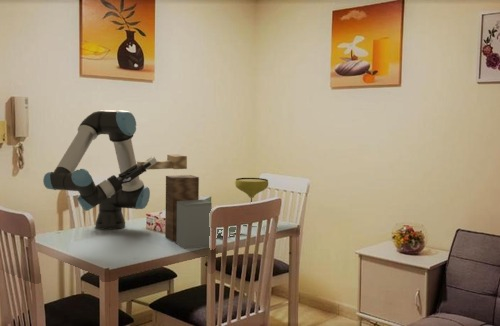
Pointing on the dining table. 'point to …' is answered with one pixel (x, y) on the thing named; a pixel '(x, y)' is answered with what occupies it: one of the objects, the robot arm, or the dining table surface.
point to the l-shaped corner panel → (231, 230)
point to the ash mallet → (168, 163)
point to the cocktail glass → (251, 185)
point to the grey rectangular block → (193, 223)
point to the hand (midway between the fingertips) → (154, 159)
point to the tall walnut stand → (178, 199)
